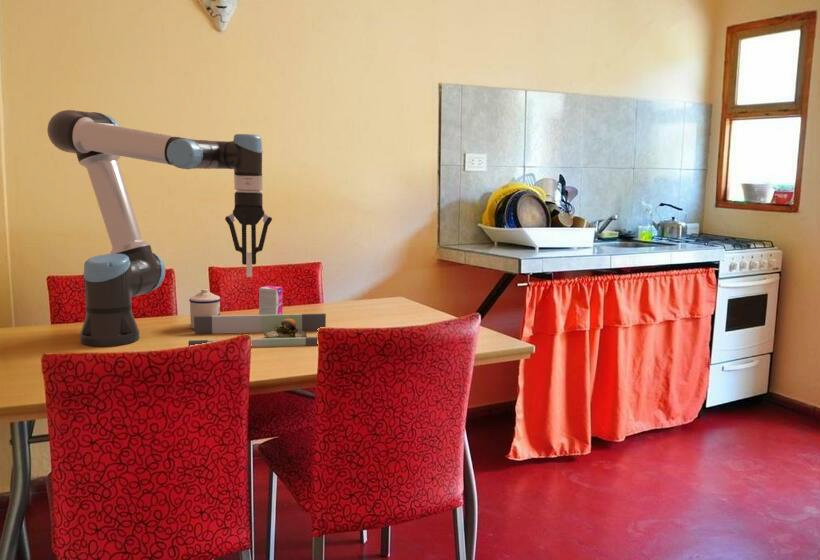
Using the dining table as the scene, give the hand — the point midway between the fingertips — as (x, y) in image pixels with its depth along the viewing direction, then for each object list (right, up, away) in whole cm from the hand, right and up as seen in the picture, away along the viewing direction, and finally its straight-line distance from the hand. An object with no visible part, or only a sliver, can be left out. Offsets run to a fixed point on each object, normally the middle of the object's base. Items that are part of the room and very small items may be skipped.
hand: (249, 276), depth 201 cm
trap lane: (+3, -18, +3) cm, 18 cm away
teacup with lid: (-18, -15, +17) cm, 29 cm away
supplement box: (+2, -15, +23) cm, 28 cm away
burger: (+10, -18, +4) cm, 21 cm away
